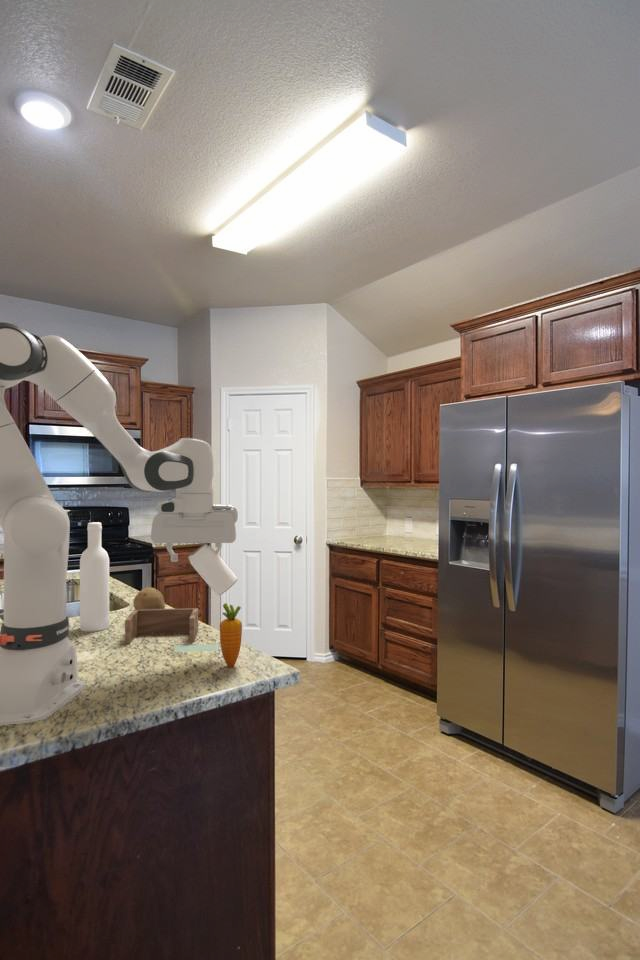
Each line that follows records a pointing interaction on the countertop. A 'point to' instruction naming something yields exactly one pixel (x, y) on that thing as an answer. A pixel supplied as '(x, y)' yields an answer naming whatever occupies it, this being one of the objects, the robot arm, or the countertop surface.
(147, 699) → the countertop surface
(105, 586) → the bottle
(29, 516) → the robot arm
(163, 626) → the brown wooden u-shaped frame
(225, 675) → the countertop surface
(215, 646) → the mat
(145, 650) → the countertop surface
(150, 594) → the natural sponge
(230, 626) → the carrot
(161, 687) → the countertop surface
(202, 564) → the can
